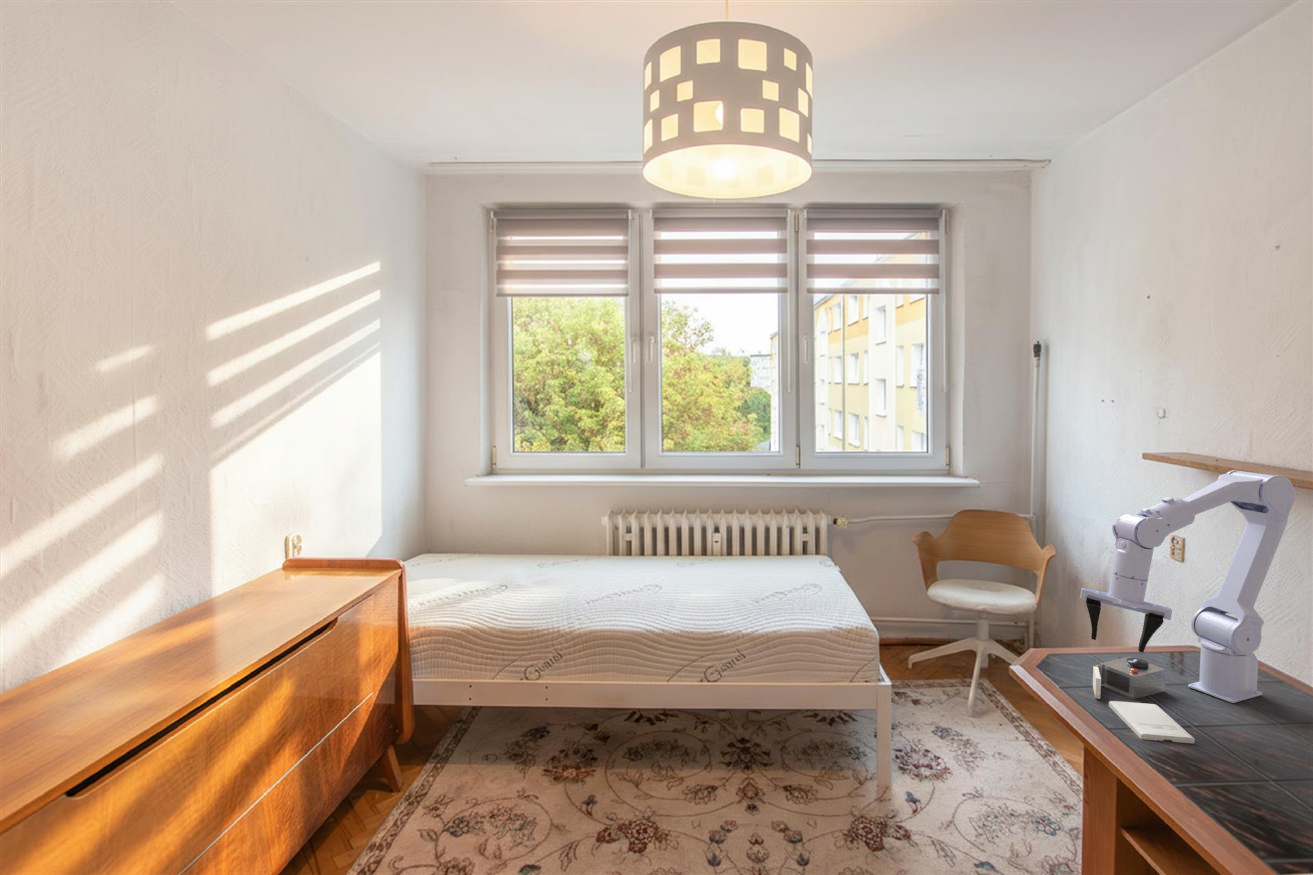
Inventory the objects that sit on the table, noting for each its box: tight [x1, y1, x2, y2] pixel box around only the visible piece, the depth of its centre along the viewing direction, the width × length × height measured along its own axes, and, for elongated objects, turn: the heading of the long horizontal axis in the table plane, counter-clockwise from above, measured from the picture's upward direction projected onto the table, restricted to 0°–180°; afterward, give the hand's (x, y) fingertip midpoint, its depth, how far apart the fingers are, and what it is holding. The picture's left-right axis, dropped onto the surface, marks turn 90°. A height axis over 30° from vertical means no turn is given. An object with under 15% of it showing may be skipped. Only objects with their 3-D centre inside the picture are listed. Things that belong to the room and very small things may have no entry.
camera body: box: [1099, 656, 1167, 700], centre depth 136 cm, size 9×7×6 cm
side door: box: [1092, 664, 1102, 700], centre depth 135 cm, size 1×8×4 cm, turn 151°
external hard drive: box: [1108, 700, 1196, 744], centre depth 122 cm, size 2×8×12 cm
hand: (1116, 644), depth 132 cm, fingers open, 7 cm apart
